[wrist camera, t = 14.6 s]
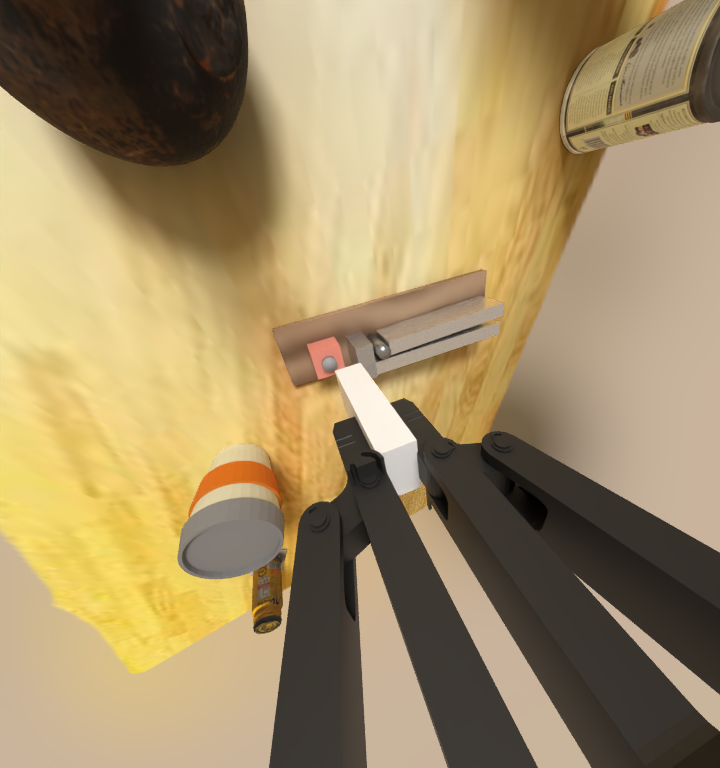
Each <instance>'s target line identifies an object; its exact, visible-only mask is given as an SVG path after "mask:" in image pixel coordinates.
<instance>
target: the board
mask: <svg viewBox="0 0 720 768" xmlns="http://www.w3.org/2000/svg"><path fill="white" fill-rule="evenodd" d="M485 283H486V270H478V271H475V272H471V273H467V274H464V275H460V276H457V277H453V278H450V279H446V280H443V281H439V282H436V283H432V284H429V285H425V286H422V287H418V288H414V289H411V290H407V291H404V292H400V293H397V294H393V295H390V296H386V297H383V298H379V299H376V300H372V301H368V302H365V303H361V304H358V305H354V306H351V307H347V308H344V309H340V310H337V311H333V312H330V313H326V314H323V315H319V316H315V317H312V318H308V319H305V320H301V321H298V322H294V323H291V324H287V325H284V326H280V327H277V328H273V333H274V335H275V338H276V341H277V343H278V346H279V348H280V351H281V353H282V356H283V359H284V361H285V364H286V366H287V369H288V371H289V374H290V377H291V379H292V382H293V384H294V386H297V385H301V384H304V383H307V382H310V381H313V380H316V379H318V377H317V374H316V371H315V369H314V366H313V363H312V359H311V356H310V353H309V350H308V347H307V344H310V343H313V342H317V341H320V340H323V339H327V338H330V337H333V336H334V337H335V339H336V340H337V342H338V344H339V345H340V349H341V353H342V357H343V361H344V365H345V367H348V366H351V365H352V362H351V358H350V354H349V349H348V345H347V340H346V336H349V335H352V334H355V333H359V332H362V333H363V334H364V336H365V337H366V336H367V335H368V334H369V333H374V334H375V335H376V330H378V329H381V328H384V327H387V326H390V325H393V324H396V323H399V322H402V321H405V320H408V319H411V318H414V317H417V316H420V315H423V314H426V313H429V312H432V311H435V310H438V309H441V308H444V307H447V306H450V305H453V304H456V303H459V302H462V301H465V300H468V299H471V298H474V297H477V296H480V295H481V296H485ZM376 336H377V335H376Z"/></svg>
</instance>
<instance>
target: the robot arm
mask: <svg viewBox="0 0 720 768" xmlns="http://www.w3.org/2000/svg"><path fill="white" fill-rule="evenodd" d="M335 374H336V377H337V381H338V385H339V388H340V392H341V395H342V399H343V403H344V406H345V410H346V412H347V414H348V416H349V419H346V420H343V421H340V422H338V423H335V424H334V429H333V434H334V437H335V440H336V443H337V446H338V449H339V452H340V455H341V458H342V461H343V464H344V467H345V470H346V473H347V476H348V480H347V485H346V487H345V489H344V490H343V492H342V493H341V494H340V495H339V496H338V497H337V498H335V499H334V500H333V501H332V502H330V503H329V502H318V503H315V504H312V505H311V506H310V507H309V508H307V509H306V510H305V512H304V513H303V515H302V516H301V519H300V522H299V527H298V535H297V543H296V552H295V560H294V568H293V576H292V584H291V593H290V601H289V609H288V617H287V625H286V634H285V642H284V650H283V658H282V666H281V675H280V683H279V691H278V699H277V707H276V715H275V724H274V732H273V740H272V749H271V756H270V765H269V768H367V761H366V742H365V724H364V705H363V687H362V668H361V650H360V631H359V616H358V615H359V613H358V594H357V578H356V577H357V576H356V559H355V558H356V556H357V555H358V554H359V553H360V552H361V551H363V550H364V549H365V548H366V547H367V546H368V545H369V544H370V543H371V546H372V549H373V552H374V555H375V557H376V561H377V563H378V566H379V569H380V572H381V575H382V578H383V581H384V584H385V586H386V589H387V592H388V595H389V598H390V601H391V604H392V607H393V610H394V613H395V616H396V619H397V621H398V624H399V627H400V630H401V633H402V636H403V639H404V642H405V645H406V647H407V651H408V653H409V656H410V659H411V662H412V665H413V668H414V671H415V674H416V677H417V680H418V682H419V685H420V688H421V691H422V694H423V697H424V700H425V703H426V706H427V709H428V711H429V714H430V717H431V720H432V723H433V726H434V729H435V732H436V735H437V737H438V740H439V743H440V746H441V749H442V752H443V755H444V758H445V760H446V764H447V767H448V768H538V767H537V765H536V763H535V761H534V759H533V757H532V755H531V753H530V752H529V749H528V748H527V746H526V744H525V742H524V740H523V738H522V736H521V734H520V732H519V730H518V728H517V726H516V724H515V722H514V720H513V718H512V716H511V714H510V712H509V710H508V709H507V707H506V705H505V703H504V701H503V699H502V697H501V695H500V693H499V691H498V689H497V687H496V686H495V683H494V681H493V679H492V677H491V675H490V673H489V671H488V670H487V667H486V666H485V664H484V662H483V660H482V658H481V656H480V654H479V652H478V650H477V648H476V646H475V644H474V642H473V640H472V638H471V636H470V634H469V632H468V630H467V628H466V626H465V625H464V623H463V621H462V619H461V617H460V615H459V613H458V611H457V609H456V607H455V605H454V603H453V601H452V599H451V597H450V595H449V594H448V592H447V589H446V587H445V585H444V584H443V582H442V580H441V578H440V576H439V574H438V572H437V570H436V568H435V566H434V564H433V562H432V560H431V558H430V556H429V554H428V553H427V550H426V548H425V546H424V545H423V543H422V541H421V539H420V537H419V535H418V533H417V531H416V529H415V527H414V525H413V523H412V521H411V519H410V517H409V515H408V513H407V511H406V509H405V507H404V505H403V503H402V501H401V500H400V498H399V496H400V495H403V494H405V493H408V492H410V491H412V490H415V489H417V488H420V487H421V482H420V479H421V481H422V482H423V484H424V486H425V487H426V494H427V505H428V508H429V510H430V509H432V507H431V504H432V506H433V507H434V509H435V511H436V512H437V514H438V515H439V517H440V519H441V520H442V522H443V524H444V525H445V527H446V529H447V530H448V532H449V534H450V535H451V537H452V539H453V540H454V542H455V543H456V545H457V547H458V548H459V550H460V552H461V553H462V555H463V557H464V558H465V560H466V561H467V563H468V565H469V567H470V568H471V570H472V571H473V573H474V575H475V576H476V578H477V580H478V581H479V583H480V585H481V586H482V588H483V590H484V591H485V593H486V594H487V596H488V598H489V599H490V601H491V603H492V604H493V606H494V608H495V609H496V611H497V612H498V614H499V616H500V617H501V619H502V621H503V622H504V624H505V626H506V627H507V629H508V630H509V632H510V634H511V635H512V637H513V639H514V640H515V642H516V644H517V645H518V647H519V648H520V650H521V652H522V654H523V655H524V657H525V659H526V660H527V662H528V663H529V665H530V667H531V668H532V670H533V672H534V673H535V675H536V676H537V678H538V680H539V682H540V683H541V685H542V686H543V688H544V690H545V691H546V693H547V695H548V696H549V698H550V699H551V701H552V703H553V705H554V706H555V708H556V709H557V711H558V713H559V714H560V716H561V718H562V719H563V721H564V723H565V724H566V726H567V727H568V729H569V731H570V732H571V734H572V736H573V737H574V739H575V741H576V742H577V744H578V746H579V747H580V749H581V751H582V752H583V754H584V755H585V757H586V759H587V760H588V762H589V764H590V766H591V767H592V768H720V731H718V730H717V729H716V728H715V727H714V726H712V725H711V724H710V723H709V722H708V721H707V720H706V719H705V718H704V717H703V716H702V715H701V714H700V713H699V712H698V711H697V710H696V709H695V708H694V707H693V706H692V705H691V704H690V702H689V701H688V700H687V699H686V698H685V697H684V696H683V695H682V694H681V692H680V691H679V690H678V689H677V688H676V687H675V686H674V685H673V684H672V682H671V681H670V680H669V679H668V678H667V677H666V676H665V675H664V673H662V671H661V670H660V669H659V668H658V667H657V666H656V665H655V663H654V662H653V661H652V660H651V659H650V658H649V657H648V656H647V655H646V653H645V652H644V651H643V650H642V649H641V648H640V647H639V646H638V645H637V643H636V642H635V641H634V640H633V639H632V638H631V637H630V636H629V635H628V634H627V632H626V631H625V630H624V629H623V628H622V627H621V626H620V625H619V624H618V622H617V621H616V620H615V619H614V618H613V617H612V616H611V615H610V614H609V612H608V611H607V610H606V609H605V608H604V607H603V606H602V605H601V603H600V602H599V601H598V600H597V599H596V598H595V597H594V596H593V595H592V593H591V592H590V591H589V590H588V589H587V588H586V587H585V586H584V585H583V583H582V582H581V581H580V580H579V579H578V578H577V577H576V576H575V574H576V575H577V576H578V577H579V578H580V579H582V580H583V581H584V582H585V583H586V584H587V585H589V586H590V587H591V588H592V589H594V590H595V591H596V592H597V593H598V594H600V595H601V596H602V597H603V598H604V599H606V600H607V601H608V602H609V603H610V604H611V605H613V606H614V607H615V608H616V609H618V610H619V611H620V612H621V613H622V614H624V615H625V616H626V617H627V618H629V619H630V620H631V621H632V622H634V624H636V625H637V626H638V627H639V628H640V629H642V630H643V631H644V632H645V633H647V634H648V635H649V636H650V637H651V638H652V639H654V640H655V641H656V642H657V643H658V644H660V645H661V646H662V647H663V648H664V649H666V650H667V651H668V652H669V653H670V654H672V655H673V656H674V657H675V658H677V659H678V660H679V661H680V662H681V663H682V664H684V665H685V666H686V667H687V668H688V669H690V670H691V671H692V672H693V673H694V674H696V675H697V676H698V677H699V678H700V679H702V680H703V681H704V682H705V683H707V684H708V685H709V686H710V687H711V688H712V689H714V690H715V691H716V692H717V693H719V694H720V553H719V552H717V551H716V550H714V549H712V548H710V547H709V546H707V545H705V544H703V543H702V542H700V541H698V540H696V539H695V538H693V537H691V536H689V535H687V534H686V533H684V532H682V531H681V530H679V529H677V528H675V527H674V526H672V525H670V524H668V523H666V522H665V521H663V520H661V519H659V518H658V517H656V516H654V515H652V514H651V513H649V512H647V511H645V510H644V509H642V508H640V507H638V506H636V505H635V504H633V503H631V502H630V501H628V500H626V499H624V498H623V497H620V496H619V495H617V494H615V493H614V492H612V491H610V490H608V489H607V488H605V487H603V486H601V485H600V484H598V483H596V482H594V481H592V480H591V479H589V478H587V477H586V476H584V475H582V474H580V473H579V472H577V471H575V470H573V469H571V468H569V467H568V466H566V465H564V464H562V463H561V462H559V461H557V460H555V459H554V458H552V457H550V456H548V455H547V454H545V453H543V452H542V451H540V450H538V449H536V448H535V447H533V446H531V445H529V444H527V443H526V442H524V441H522V440H520V439H519V438H517V437H515V436H513V435H511V434H508V433H506V432H499V431H497V432H490V433H488V434H486V435H485V436H484V437H483V438H482V443H474V444H456V443H455V442H454V441H453V440H450V439H447V438H443V437H442V436H441V435H440V433H439V432H438V431H437V430H436V429H435V428H434V427H433V425H432V424H431V423H430V422H429V421H428V420H427V418H426V417H425V416H423V414H422V413H421V411H419V409H418V408H417V407H416V406H415V405H414V403H413V402H410V401H408V400H406V399H404V398H403V399H401V400H398V401H395V402H392V403H389V401H388V400H387V399H386V397H385V396H384V394H383V393H382V392H381V390H380V389H379V388H378V386H377V385H376V383H375V382H374V381H373V379H372V378H371V377H370V375H369V374H368V372H367V371H366V370H365V368H364V367H363V366H362V364H361V363H358V364H354V365H351V366H348V367H345V368H342V369H339V370H336V371H335Z"/></svg>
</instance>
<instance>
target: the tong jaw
mask: <svg viewBox="0 0 720 768" xmlns="http://www.w3.org/2000/svg"><path fill="white" fill-rule="evenodd" d="M503 309H504V302H500V301H497V300H494V299H491V298H487V297H484V296H481V295H480V296H477V297H474V298H471V299H468V300H465V301H462V302H459V303H456V304H453V305H450V306H447V307H444V308H441V309H438V310H435V311H432V312H429V313H426V314H423V315H420V316H417V317H414V318H411V319H408V320H405V321H402V322H399V323H396V324H393V325H390V326H387V327H384V328H381V329H378V330H376V335H377V336H376V335H375V334H374V333H369V334H368V335H367V336H366V338H367V339H368V340H369V341H370V342H371V343H372V344H373V350H374V352H375V353H376V354H377V355H378V356H379V357H380V358H381V359H387V358H389V357H390V355H393V354H396V353H399V352H402V351H404V350H407V349H410V348H413V347H416V346H419V345H422V344H424V343H427V342H430V341H433V340H436V339H439V338H441V337H444V336H447V335H450V334H453V333H456V332H459V331H461V330H464V329H467V328H470V327H473V326H476V325H478V324H481V323H484V322H487V321H490V320H493V319H496V318H498V317H501V316H503Z"/></svg>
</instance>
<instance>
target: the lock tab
mask: <svg viewBox="0 0 720 768" xmlns="http://www.w3.org/2000/svg"><path fill="white" fill-rule="evenodd" d="M307 347H308V350H309V353H310V356H311V359H312V363H313V366H314V369H315V371H316V374H317V377H318V380H319V379H322V378H326V377H329V376H332V375H335V371H336V370H339V369H342V368H345V365H344V361H343V357H342V353H341V349H340V345H339V344H338V342H337V340H336V339H335V337H334V336H333V337H330V338H327V339H323V340H320V341H317V342H313V343H310V344H307Z"/></svg>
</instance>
